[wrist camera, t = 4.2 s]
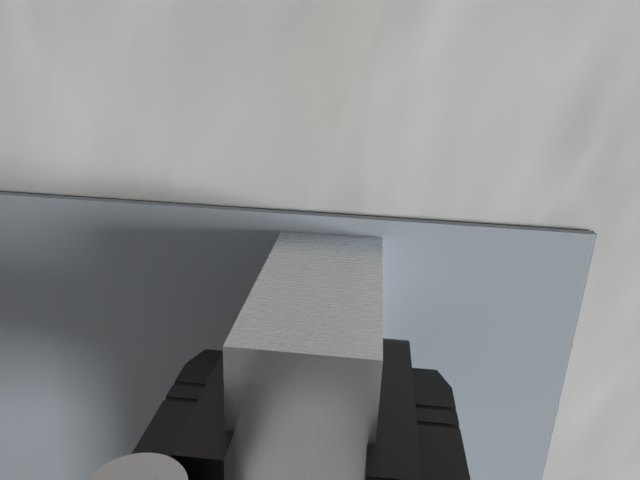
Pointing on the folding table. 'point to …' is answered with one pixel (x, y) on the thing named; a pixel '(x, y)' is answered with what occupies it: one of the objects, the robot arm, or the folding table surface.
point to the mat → (227, 301)
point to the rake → (307, 360)
